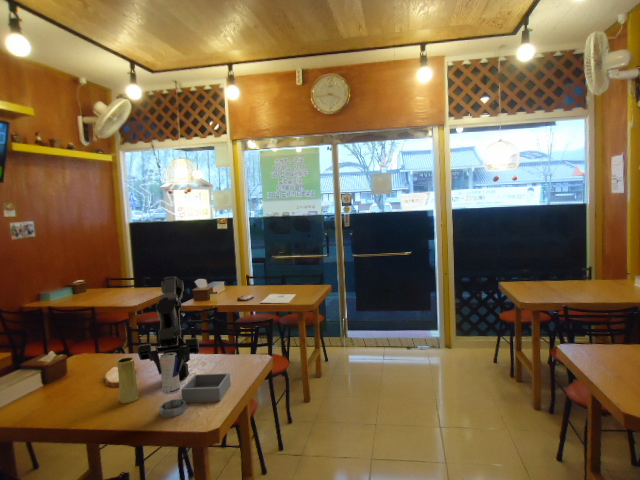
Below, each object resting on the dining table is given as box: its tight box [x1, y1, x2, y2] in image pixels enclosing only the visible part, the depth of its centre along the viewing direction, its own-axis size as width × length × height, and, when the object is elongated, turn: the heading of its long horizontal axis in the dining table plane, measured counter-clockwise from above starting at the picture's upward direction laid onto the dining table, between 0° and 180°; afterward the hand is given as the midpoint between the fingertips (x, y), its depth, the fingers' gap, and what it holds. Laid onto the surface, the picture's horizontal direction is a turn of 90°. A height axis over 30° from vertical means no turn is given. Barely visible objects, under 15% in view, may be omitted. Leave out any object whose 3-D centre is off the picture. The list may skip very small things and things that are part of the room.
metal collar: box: [158, 398, 188, 418], centre depth 138 cm, size 8×8×2 cm
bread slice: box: [104, 362, 138, 388], centre depth 172 cm, size 18×18×4 cm
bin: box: [180, 372, 232, 403], centre depth 151 cm, size 13×13×4 cm
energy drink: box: [159, 352, 181, 395], centre depth 137 cm, size 5×5×12 cm
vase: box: [116, 356, 140, 404], centre depth 149 cm, size 6×6×14 cm
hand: (169, 372), depth 136 cm, fingers closed on energy drink, 5 cm apart
